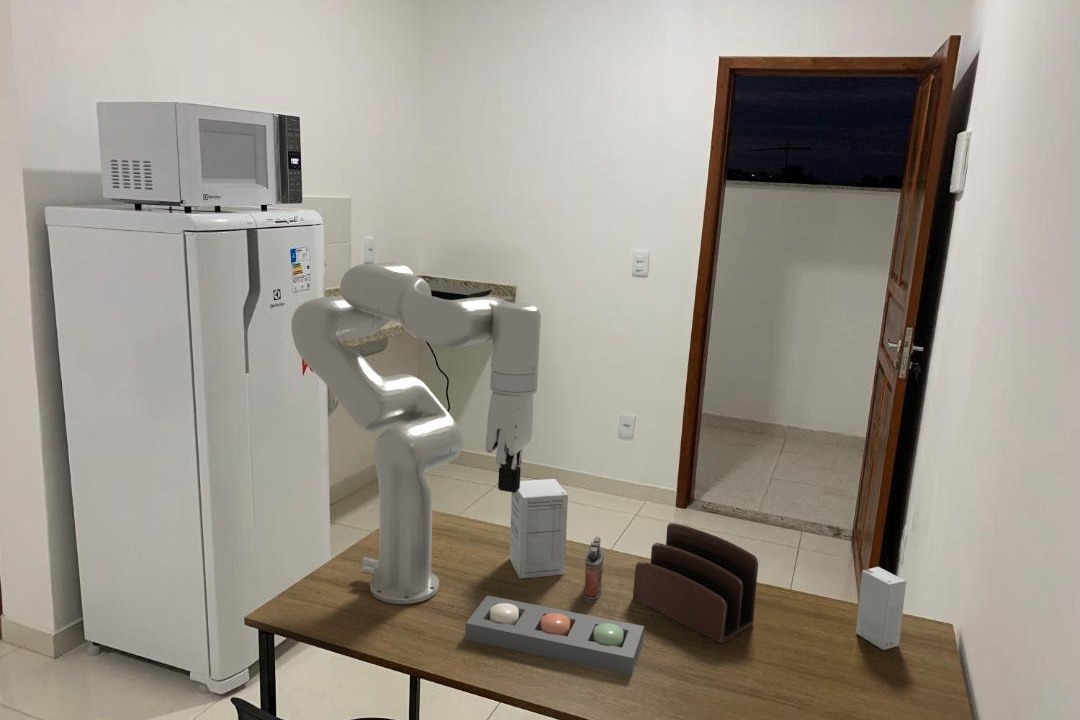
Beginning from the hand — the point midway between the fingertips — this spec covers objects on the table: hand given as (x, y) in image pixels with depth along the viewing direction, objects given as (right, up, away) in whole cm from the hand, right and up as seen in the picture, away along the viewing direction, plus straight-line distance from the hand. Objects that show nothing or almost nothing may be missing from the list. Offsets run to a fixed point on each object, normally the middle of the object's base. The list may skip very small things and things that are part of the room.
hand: (508, 489), depth 130 cm
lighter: (+15, -23, +19) cm, 33 cm away
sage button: (+16, -26, -1) cm, 30 cm away
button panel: (+8, -26, +2) cm, 27 cm away
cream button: (-1, -24, +4) cm, 24 cm away
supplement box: (+4, -20, +29) cm, 35 cm away
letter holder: (+33, -25, +14) cm, 43 cm away
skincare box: (+63, -27, +7) cm, 69 cm away
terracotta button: (+8, -25, +2) cm, 26 cm away
